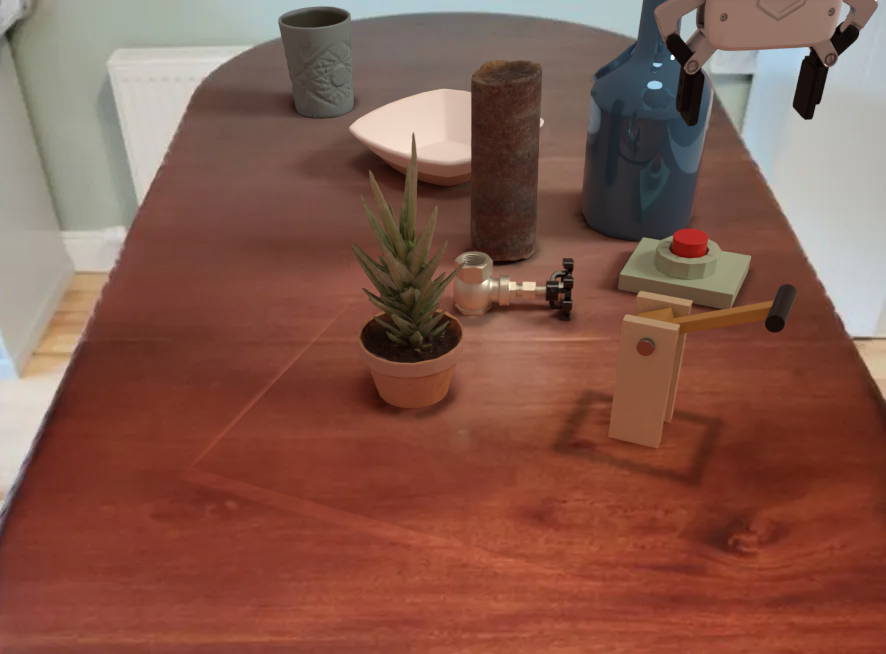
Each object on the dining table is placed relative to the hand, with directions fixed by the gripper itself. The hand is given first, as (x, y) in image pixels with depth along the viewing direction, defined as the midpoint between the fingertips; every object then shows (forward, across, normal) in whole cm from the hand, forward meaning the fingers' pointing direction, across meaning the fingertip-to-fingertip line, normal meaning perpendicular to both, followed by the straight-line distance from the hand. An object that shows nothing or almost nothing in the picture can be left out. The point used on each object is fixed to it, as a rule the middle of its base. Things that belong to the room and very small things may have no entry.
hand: (745, 116), depth 83 cm
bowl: (+22, -21, +48) cm, 57 cm away
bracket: (+22, -9, -14) cm, 28 cm away
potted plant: (+22, -29, -6) cm, 37 cm away
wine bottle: (+22, 0, +29) cm, 36 cm away
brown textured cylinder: (+22, -17, +22) cm, 36 cm away
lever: (+10, -5, -16) cm, 20 cm away
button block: (+22, +2, +13) cm, 26 cm away
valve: (+22, -18, +8) cm, 30 cm away
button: (+19, +2, +13) cm, 23 cm away
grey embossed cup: (+22, -37, +71) cm, 83 cm away
